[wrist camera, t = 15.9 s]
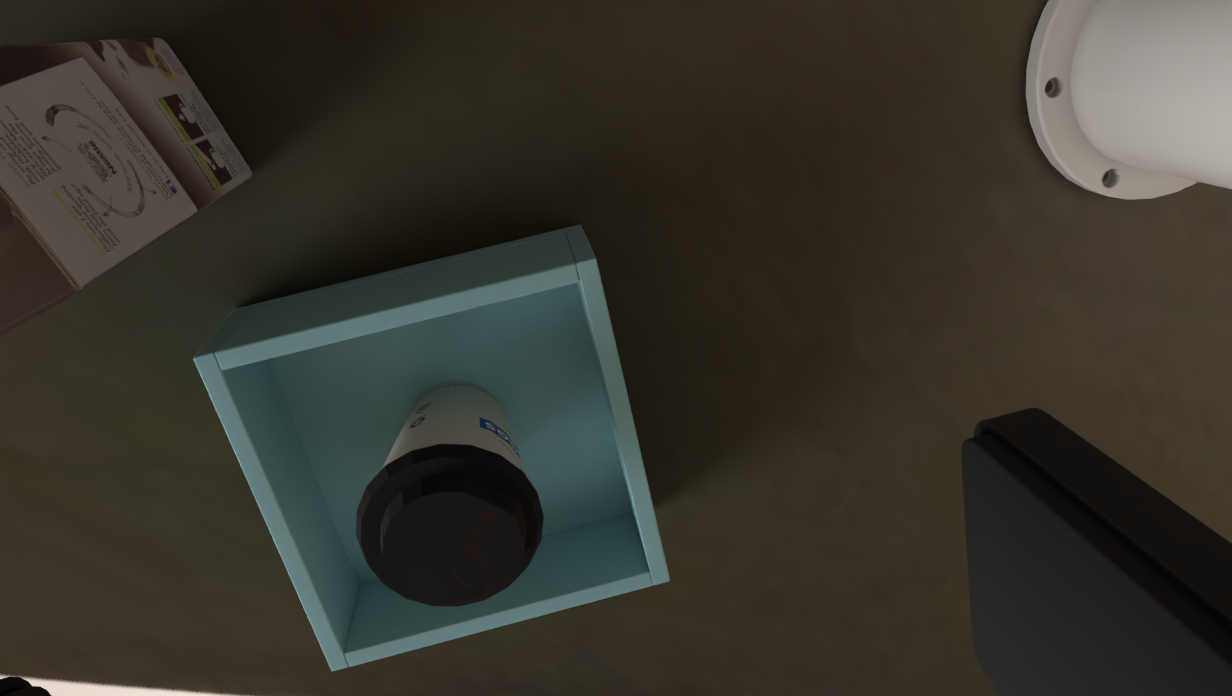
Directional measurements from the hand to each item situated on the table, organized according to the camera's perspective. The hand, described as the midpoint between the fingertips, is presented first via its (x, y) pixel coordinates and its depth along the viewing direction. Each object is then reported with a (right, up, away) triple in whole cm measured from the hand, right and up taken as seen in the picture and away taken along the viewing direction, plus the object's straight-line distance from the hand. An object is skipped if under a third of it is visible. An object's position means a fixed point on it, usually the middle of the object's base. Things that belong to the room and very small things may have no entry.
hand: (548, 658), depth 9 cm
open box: (-7, 0, +32) cm, 33 cm away
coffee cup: (-7, 0, +31) cm, 32 cm away
